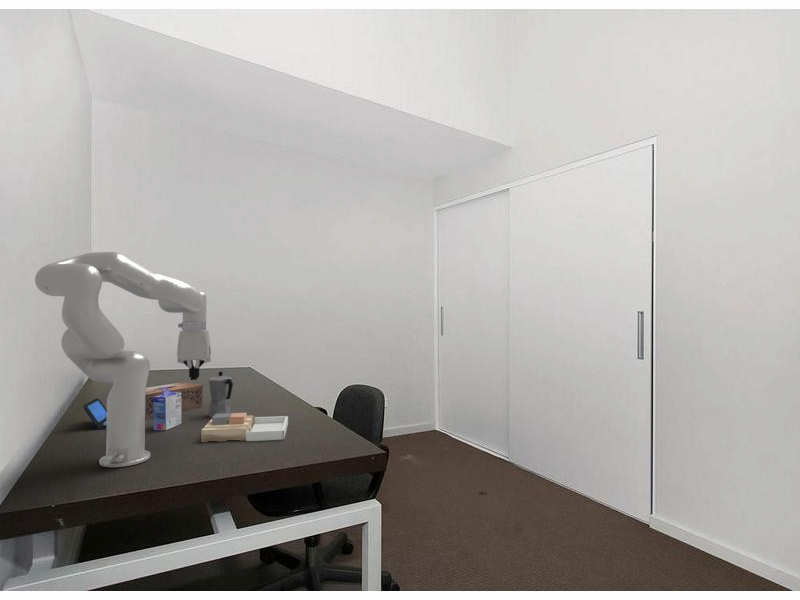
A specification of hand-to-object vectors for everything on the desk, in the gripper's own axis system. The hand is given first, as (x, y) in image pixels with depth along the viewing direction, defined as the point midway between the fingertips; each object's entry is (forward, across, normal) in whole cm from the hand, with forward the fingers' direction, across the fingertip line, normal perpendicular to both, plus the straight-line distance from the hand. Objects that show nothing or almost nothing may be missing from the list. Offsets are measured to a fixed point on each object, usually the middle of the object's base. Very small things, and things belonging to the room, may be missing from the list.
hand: (194, 379), depth 156 cm
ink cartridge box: (+20, -12, +12) cm, 26 cm away
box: (+20, +25, -1) cm, 31 cm away
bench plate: (+19, +12, -1) cm, 23 cm away
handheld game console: (+20, -35, +20) cm, 45 cm away
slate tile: (+15, +9, 0) cm, 18 cm away
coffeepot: (+20, +4, +28) cm, 34 cm away
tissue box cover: (+20, -22, +41) cm, 50 cm away
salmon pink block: (+15, +15, 0) cm, 21 cm away
